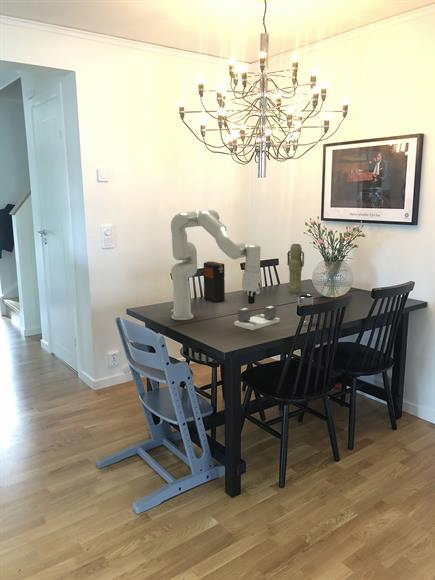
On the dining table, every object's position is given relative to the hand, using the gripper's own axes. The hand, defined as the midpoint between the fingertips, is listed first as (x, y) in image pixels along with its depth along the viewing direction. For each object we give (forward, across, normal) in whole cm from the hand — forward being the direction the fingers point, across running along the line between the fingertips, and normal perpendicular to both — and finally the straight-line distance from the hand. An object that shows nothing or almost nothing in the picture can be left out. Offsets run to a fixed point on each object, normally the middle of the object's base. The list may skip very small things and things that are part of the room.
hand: (251, 303), depth 243 cm
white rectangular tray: (+13, -1, +7) cm, 15 cm away
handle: (+10, +2, +13) cm, 17 cm away
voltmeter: (+15, -60, +29) cm, 68 cm away
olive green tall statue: (+13, -32, +79) cm, 86 cm away
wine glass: (+12, +16, +26) cm, 33 cm away
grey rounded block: (+11, -5, 0) cm, 12 cm away
